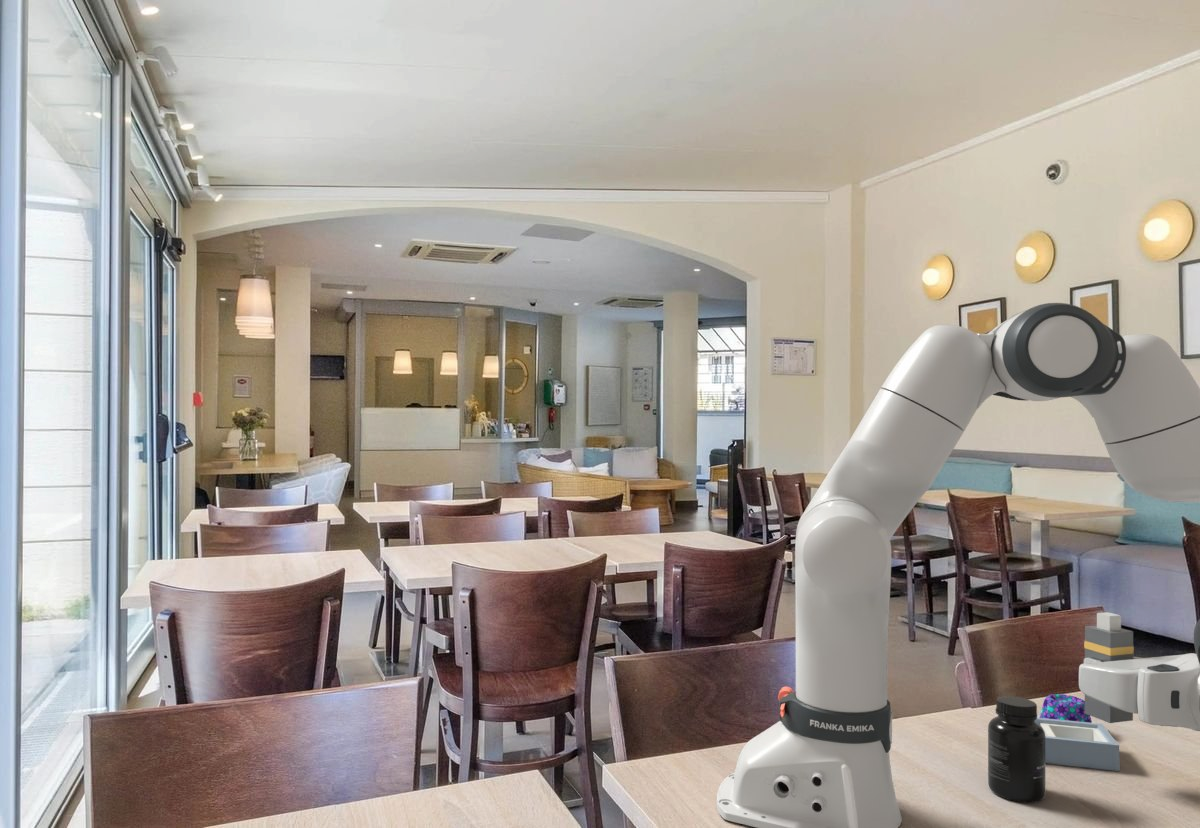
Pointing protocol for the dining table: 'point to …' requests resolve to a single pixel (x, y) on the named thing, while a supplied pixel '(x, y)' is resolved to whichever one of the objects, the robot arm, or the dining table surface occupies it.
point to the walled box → (1079, 744)
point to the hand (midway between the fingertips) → (1102, 661)
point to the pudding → (1064, 708)
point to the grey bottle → (1107, 659)
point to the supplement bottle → (1016, 751)
